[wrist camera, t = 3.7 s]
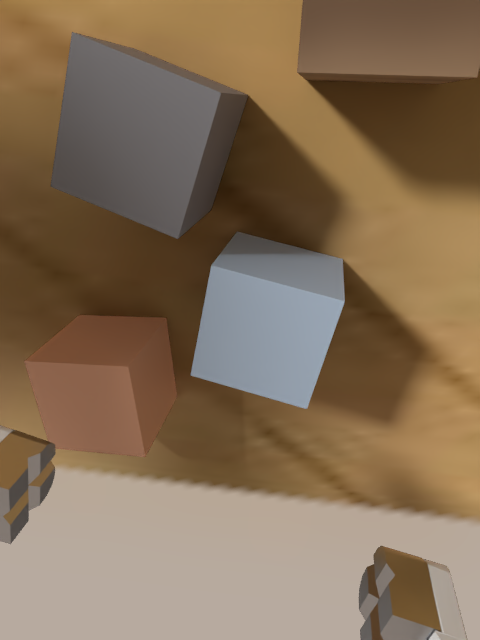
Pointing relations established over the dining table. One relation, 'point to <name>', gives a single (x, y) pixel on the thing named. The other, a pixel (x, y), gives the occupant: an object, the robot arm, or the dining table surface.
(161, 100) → the charcoal cube
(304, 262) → the dusty blue cube
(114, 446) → the terracotta cube
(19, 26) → the dining table surface
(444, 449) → the dining table surface
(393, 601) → the robot arm
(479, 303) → the dining table surface
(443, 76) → the walnut cube
